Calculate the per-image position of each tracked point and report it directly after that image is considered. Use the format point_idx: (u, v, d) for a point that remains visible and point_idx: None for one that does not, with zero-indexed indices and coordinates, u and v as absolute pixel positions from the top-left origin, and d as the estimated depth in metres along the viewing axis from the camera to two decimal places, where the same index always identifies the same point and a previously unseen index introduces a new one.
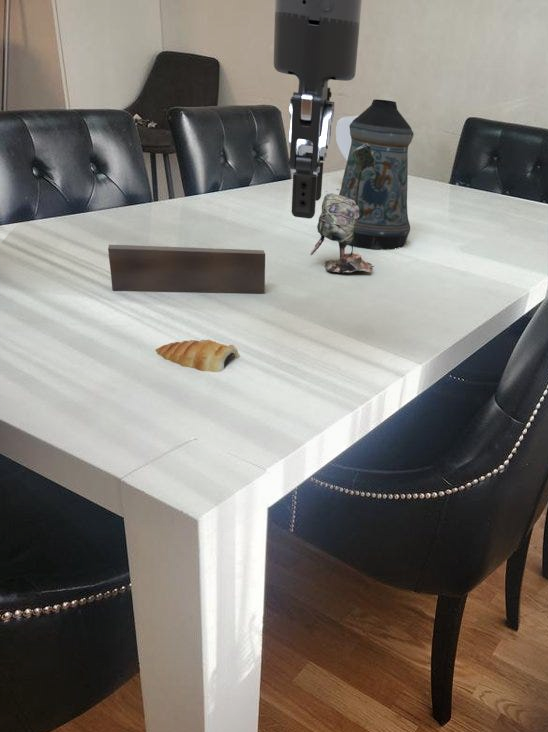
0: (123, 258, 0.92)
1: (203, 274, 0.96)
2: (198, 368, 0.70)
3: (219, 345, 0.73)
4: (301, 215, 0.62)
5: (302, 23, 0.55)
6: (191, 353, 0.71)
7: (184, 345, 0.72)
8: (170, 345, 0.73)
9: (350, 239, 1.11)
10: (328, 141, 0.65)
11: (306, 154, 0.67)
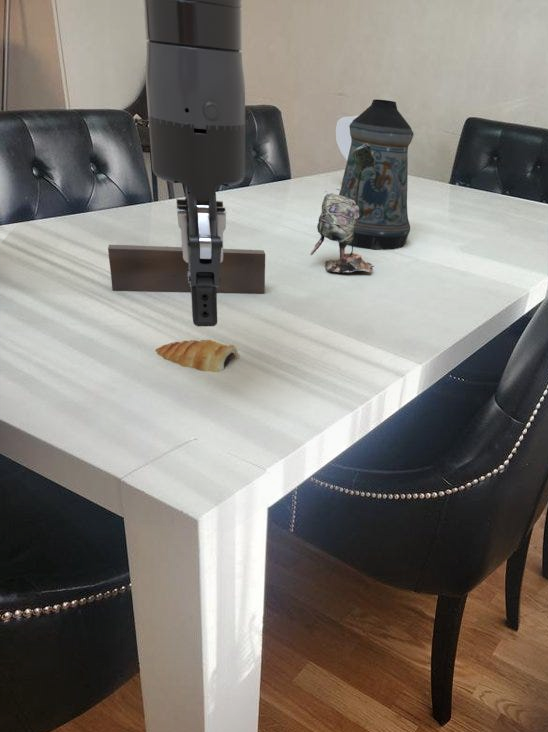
0: (123, 258, 0.92)
1: None
2: (198, 368, 0.70)
3: (219, 345, 0.73)
4: (203, 324, 0.60)
5: (187, 132, 0.49)
6: (191, 353, 0.71)
7: (184, 345, 0.72)
8: (170, 345, 0.73)
9: (350, 239, 1.11)
10: None
11: None
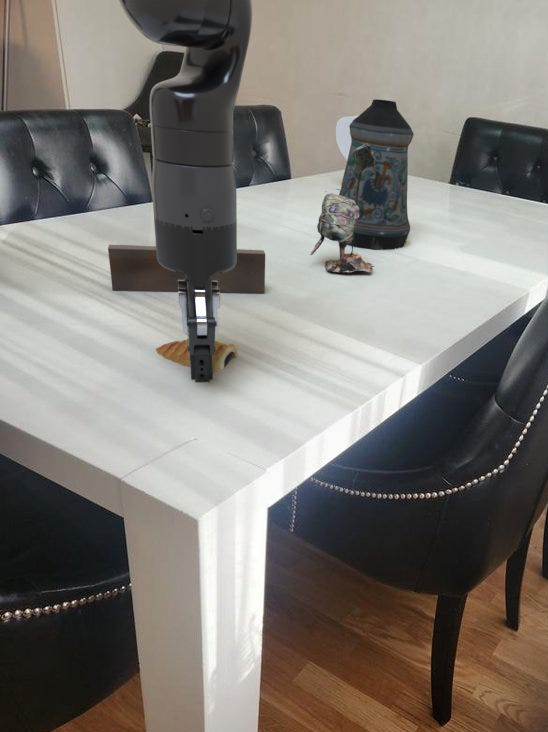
0: (123, 258, 0.92)
1: None
2: None
3: (219, 344, 0.73)
4: None
5: (186, 233, 0.58)
6: None
7: (184, 344, 0.72)
8: (170, 344, 0.73)
9: (350, 239, 1.11)
10: None
11: None
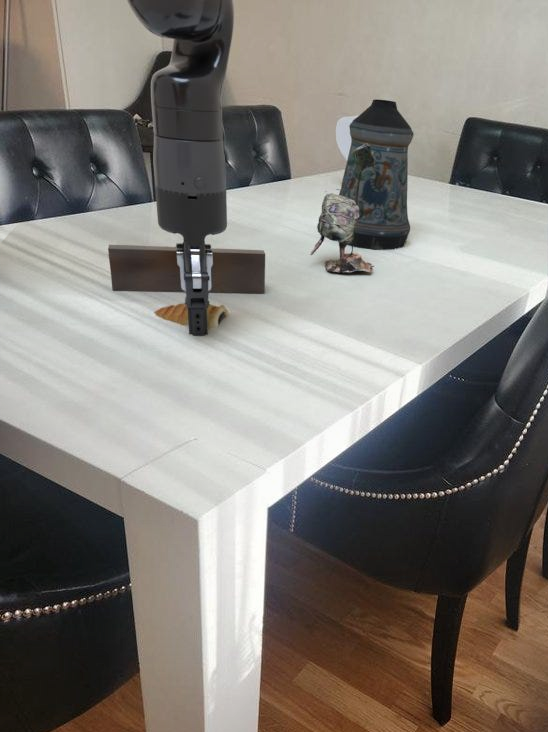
0: (123, 258, 0.92)
1: None
2: None
3: (211, 306, 0.83)
4: None
5: (182, 198, 0.67)
6: None
7: (181, 306, 0.82)
8: (167, 307, 0.83)
9: (350, 239, 1.11)
10: None
11: None
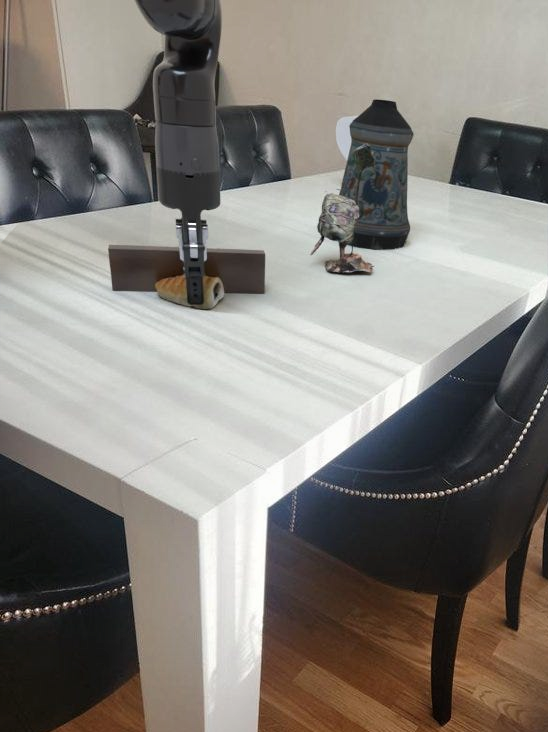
0: (123, 258, 0.92)
1: None
2: None
3: (207, 277, 0.92)
4: (194, 303, 0.88)
5: (181, 177, 0.77)
6: None
7: (180, 277, 0.91)
8: (167, 279, 0.92)
9: (350, 239, 1.11)
10: None
11: None
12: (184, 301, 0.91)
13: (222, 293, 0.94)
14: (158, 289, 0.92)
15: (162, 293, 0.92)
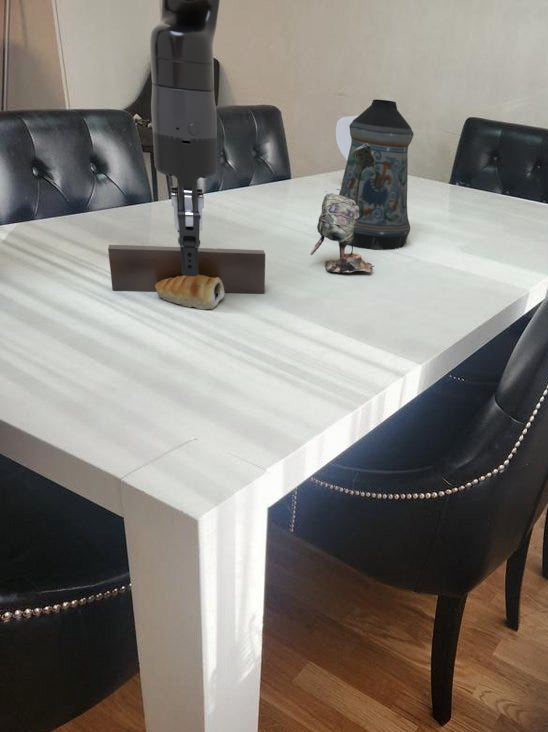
0: (123, 258, 0.92)
1: (203, 274, 0.96)
2: (194, 294, 0.90)
3: (208, 277, 0.92)
4: (189, 274, 0.87)
5: (177, 142, 0.75)
6: (187, 283, 0.90)
7: (180, 278, 0.91)
8: (168, 279, 0.92)
9: (350, 239, 1.11)
10: None
11: None
12: (185, 302, 0.91)
13: (222, 293, 0.94)
14: (158, 290, 0.91)
15: (163, 294, 0.91)
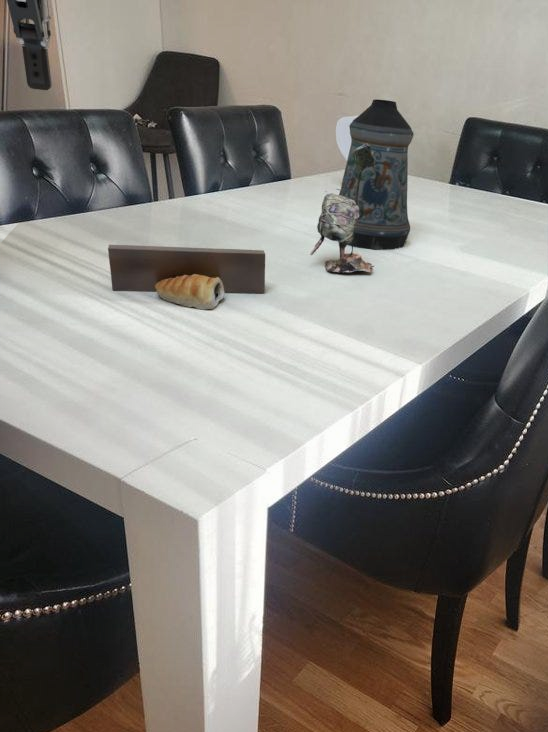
0: (123, 258, 0.92)
1: (203, 274, 0.96)
2: (194, 294, 0.90)
3: (208, 277, 0.92)
4: (37, 87, 0.68)
5: None
6: (187, 283, 0.90)
7: (180, 278, 0.91)
8: (168, 279, 0.92)
9: (350, 239, 1.11)
10: (47, 13, 0.66)
11: None
12: (185, 302, 0.91)
13: (222, 293, 0.94)
14: (158, 290, 0.91)
15: (163, 294, 0.91)
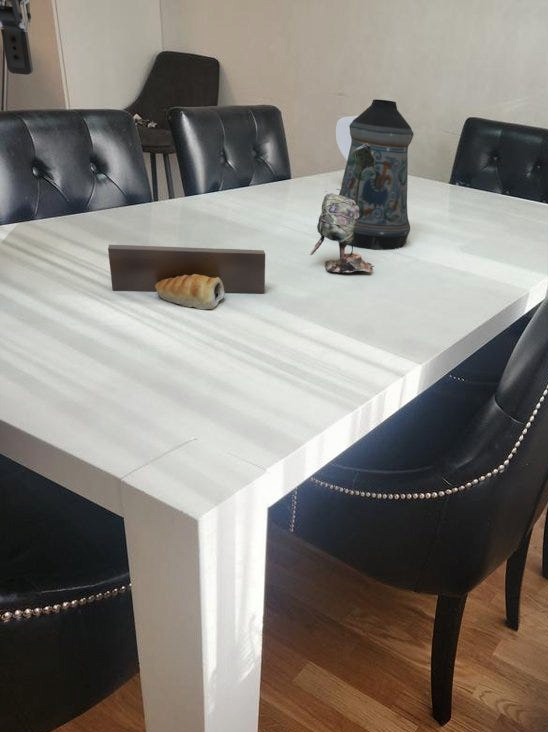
0: (123, 258, 0.92)
1: (203, 274, 0.96)
2: (194, 294, 0.90)
3: (208, 277, 0.92)
4: (18, 71, 0.66)
5: None
6: (187, 283, 0.90)
7: (180, 278, 0.91)
8: (168, 279, 0.92)
9: (350, 239, 1.11)
10: None
11: None
12: (185, 302, 0.91)
13: (222, 293, 0.94)
14: (158, 290, 0.91)
15: (163, 294, 0.91)
